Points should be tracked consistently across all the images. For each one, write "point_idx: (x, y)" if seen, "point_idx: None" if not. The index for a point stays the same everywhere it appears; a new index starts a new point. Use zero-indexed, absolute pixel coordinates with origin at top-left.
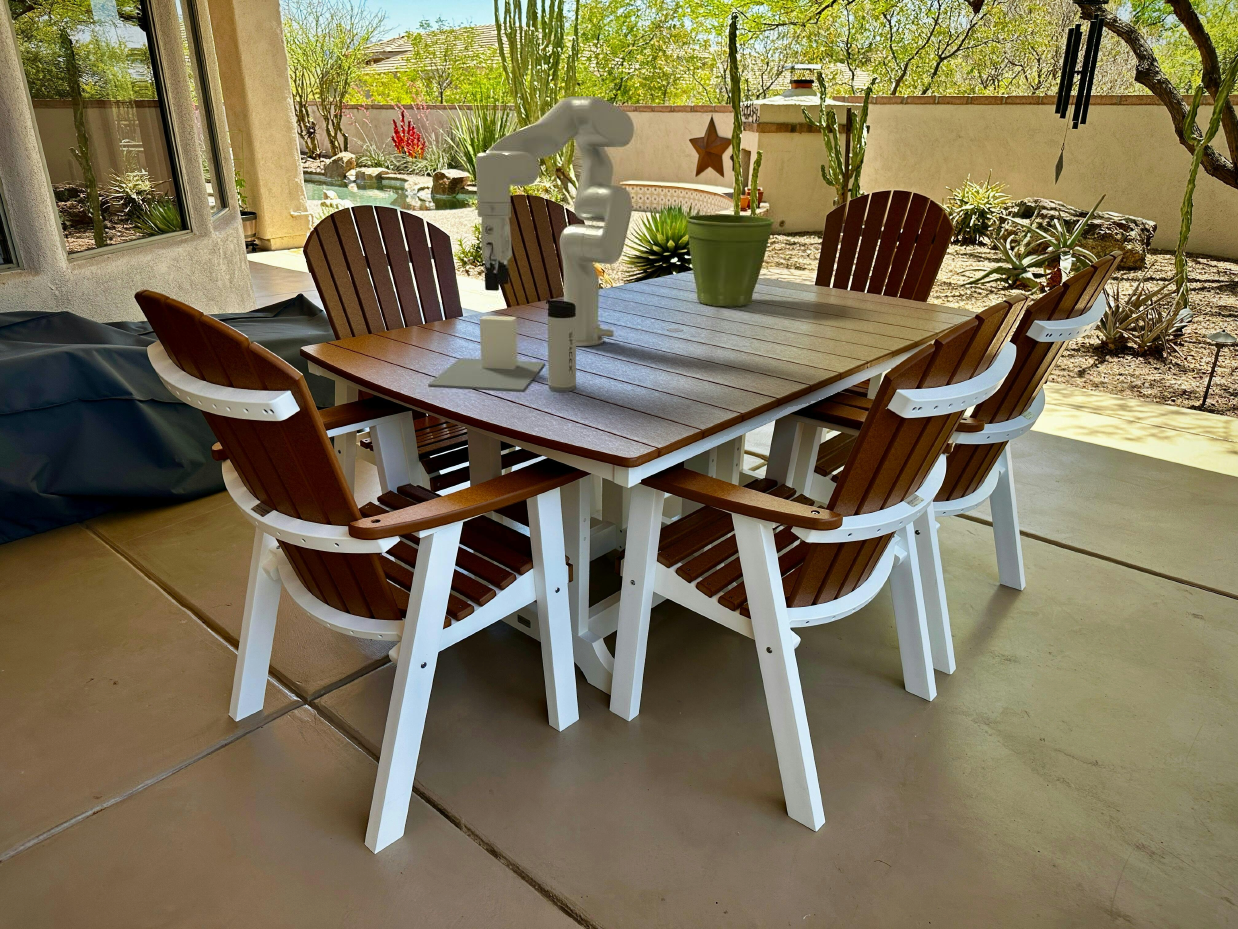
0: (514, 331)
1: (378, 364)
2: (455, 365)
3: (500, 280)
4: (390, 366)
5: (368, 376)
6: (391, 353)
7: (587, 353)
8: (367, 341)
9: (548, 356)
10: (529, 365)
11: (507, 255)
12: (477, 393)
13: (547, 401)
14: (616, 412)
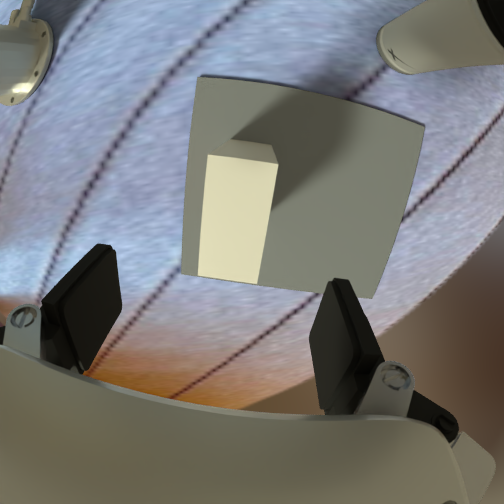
0: (249, 152)
1: (232, 375)
2: None
3: (110, 294)
4: (243, 363)
5: (301, 375)
6: (165, 368)
7: (101, 14)
8: None
9: (448, 68)
10: (232, 109)
11: (172, 458)
12: (424, 212)
13: (468, 93)
14: None
